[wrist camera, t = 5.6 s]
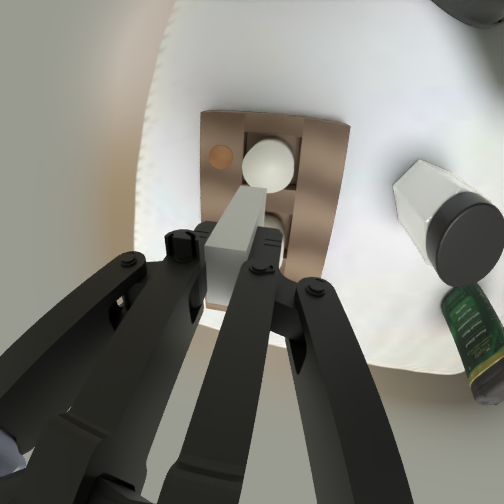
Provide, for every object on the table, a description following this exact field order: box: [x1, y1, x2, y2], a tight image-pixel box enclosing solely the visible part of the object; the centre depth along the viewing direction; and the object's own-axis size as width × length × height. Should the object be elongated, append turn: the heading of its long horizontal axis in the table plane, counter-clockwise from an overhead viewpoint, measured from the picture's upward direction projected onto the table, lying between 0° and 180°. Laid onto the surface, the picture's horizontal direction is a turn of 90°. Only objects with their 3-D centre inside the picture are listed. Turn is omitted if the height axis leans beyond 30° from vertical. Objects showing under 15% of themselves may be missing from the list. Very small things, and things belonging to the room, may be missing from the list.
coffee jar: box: [442, 283, 504, 405], centre depth 25 cm, size 10×8×19 cm
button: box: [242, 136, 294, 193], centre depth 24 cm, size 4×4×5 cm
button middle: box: [264, 214, 285, 268], centre depth 27 cm, size 4×4×5 cm
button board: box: [200, 110, 350, 311], centre depth 30 cm, size 25×14×3 cm, turn 177°
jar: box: [393, 160, 504, 287], centre depth 21 cm, size 9×8×12 cm
